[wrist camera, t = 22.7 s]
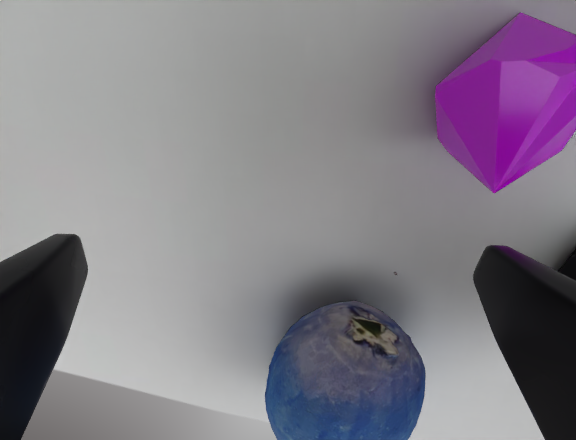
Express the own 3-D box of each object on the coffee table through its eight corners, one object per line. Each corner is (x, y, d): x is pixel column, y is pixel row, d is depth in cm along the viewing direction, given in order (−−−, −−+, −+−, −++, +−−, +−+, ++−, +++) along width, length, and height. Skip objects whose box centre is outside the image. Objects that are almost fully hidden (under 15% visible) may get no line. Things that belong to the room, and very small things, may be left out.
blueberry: (485, 398, 13) (350, 553, 21) (492, 275, 20) (390, 426, 28) (273, 279, 16) (225, 456, 23) (345, 207, 22) (289, 362, 30)
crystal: (556, 114, 18) (625, 144, 14) (444, 164, 19) (477, 203, 15) (532, 5, 16) (604, 2, 12) (408, 70, 17) (436, 87, 13)
